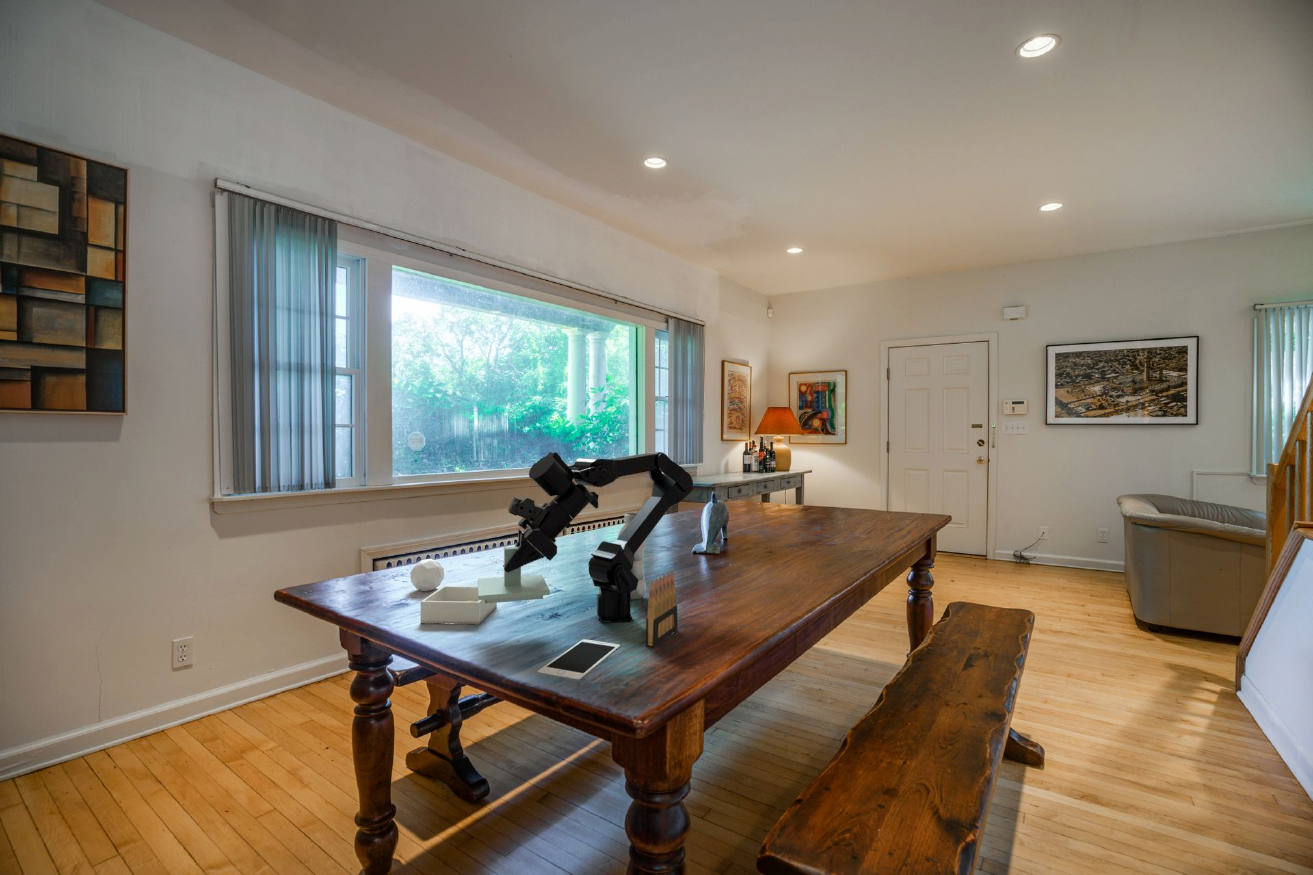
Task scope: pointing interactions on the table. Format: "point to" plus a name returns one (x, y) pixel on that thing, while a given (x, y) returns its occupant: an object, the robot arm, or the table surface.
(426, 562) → the geometric ball
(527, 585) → the lid
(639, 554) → the plastic bottle
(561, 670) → the cell phone
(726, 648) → the table surface
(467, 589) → the tub
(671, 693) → the table surface
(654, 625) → the ammunition clip
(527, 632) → the table surface
